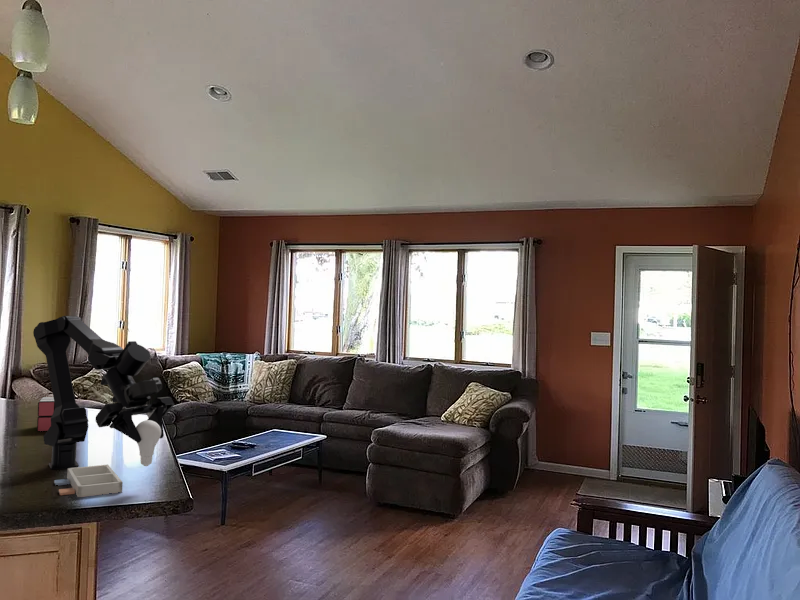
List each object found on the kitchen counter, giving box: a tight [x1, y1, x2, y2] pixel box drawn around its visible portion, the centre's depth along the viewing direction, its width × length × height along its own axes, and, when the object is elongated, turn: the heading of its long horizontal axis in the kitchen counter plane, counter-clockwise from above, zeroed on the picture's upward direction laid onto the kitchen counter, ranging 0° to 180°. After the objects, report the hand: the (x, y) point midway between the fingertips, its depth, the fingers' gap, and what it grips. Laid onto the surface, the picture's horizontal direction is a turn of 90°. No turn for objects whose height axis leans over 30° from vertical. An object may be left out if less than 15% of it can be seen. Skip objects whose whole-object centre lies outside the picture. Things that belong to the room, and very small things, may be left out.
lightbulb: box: [135, 419, 161, 467], centre depth 159 cm, size 6×6×11 cm
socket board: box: [53, 464, 123, 498], centre depth 159 cm, size 18×13×2 cm
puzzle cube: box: [36, 396, 55, 433], centre depth 223 cm, size 10×10×10 cm
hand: (151, 439), depth 158 cm, fingers closed on lightbulb, 6 cm apart
